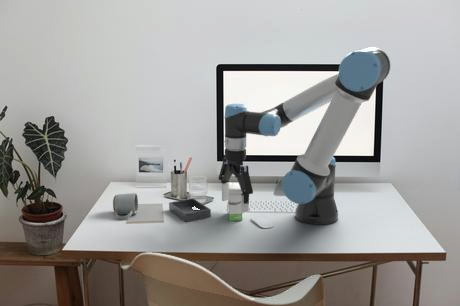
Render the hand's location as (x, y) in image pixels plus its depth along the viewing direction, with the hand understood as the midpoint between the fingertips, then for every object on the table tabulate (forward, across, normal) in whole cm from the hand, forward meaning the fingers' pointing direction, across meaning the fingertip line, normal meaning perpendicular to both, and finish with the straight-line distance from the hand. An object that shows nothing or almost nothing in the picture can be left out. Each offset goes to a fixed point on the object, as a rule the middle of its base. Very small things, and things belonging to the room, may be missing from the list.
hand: (234, 205), depth 203 cm
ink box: (+4, 0, 0) cm, 4 cm away
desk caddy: (+4, -11, -13) cm, 17 cm away
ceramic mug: (+5, -21, -33) cm, 40 cm away
